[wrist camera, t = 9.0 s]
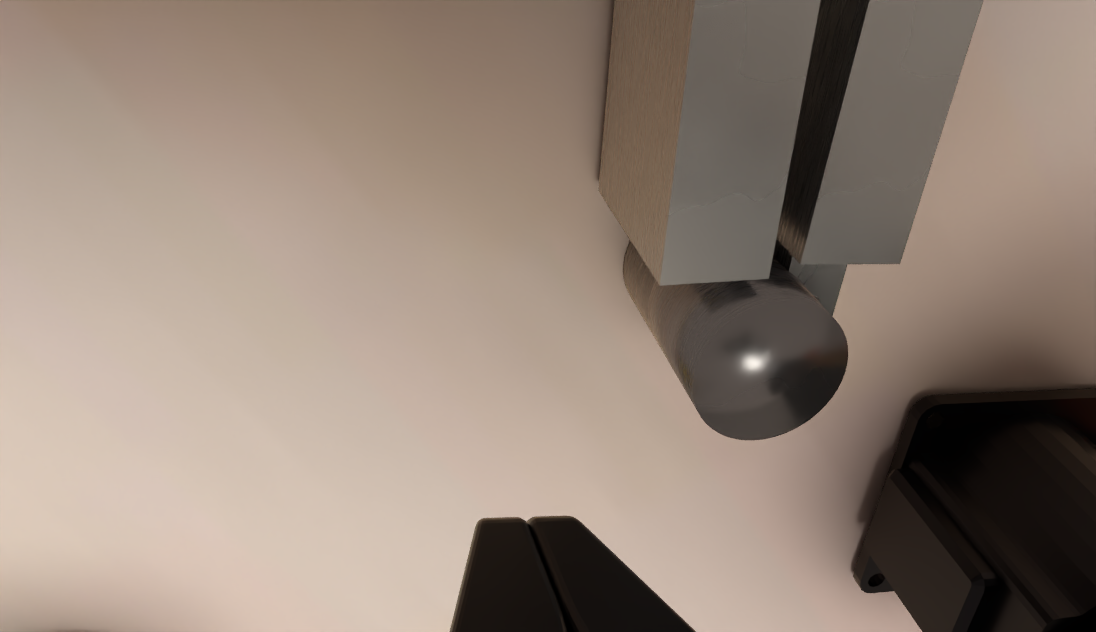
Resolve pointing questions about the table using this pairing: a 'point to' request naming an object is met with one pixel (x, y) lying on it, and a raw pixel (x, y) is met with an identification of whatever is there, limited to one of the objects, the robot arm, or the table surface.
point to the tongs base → (819, 217)
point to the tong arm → (703, 130)
